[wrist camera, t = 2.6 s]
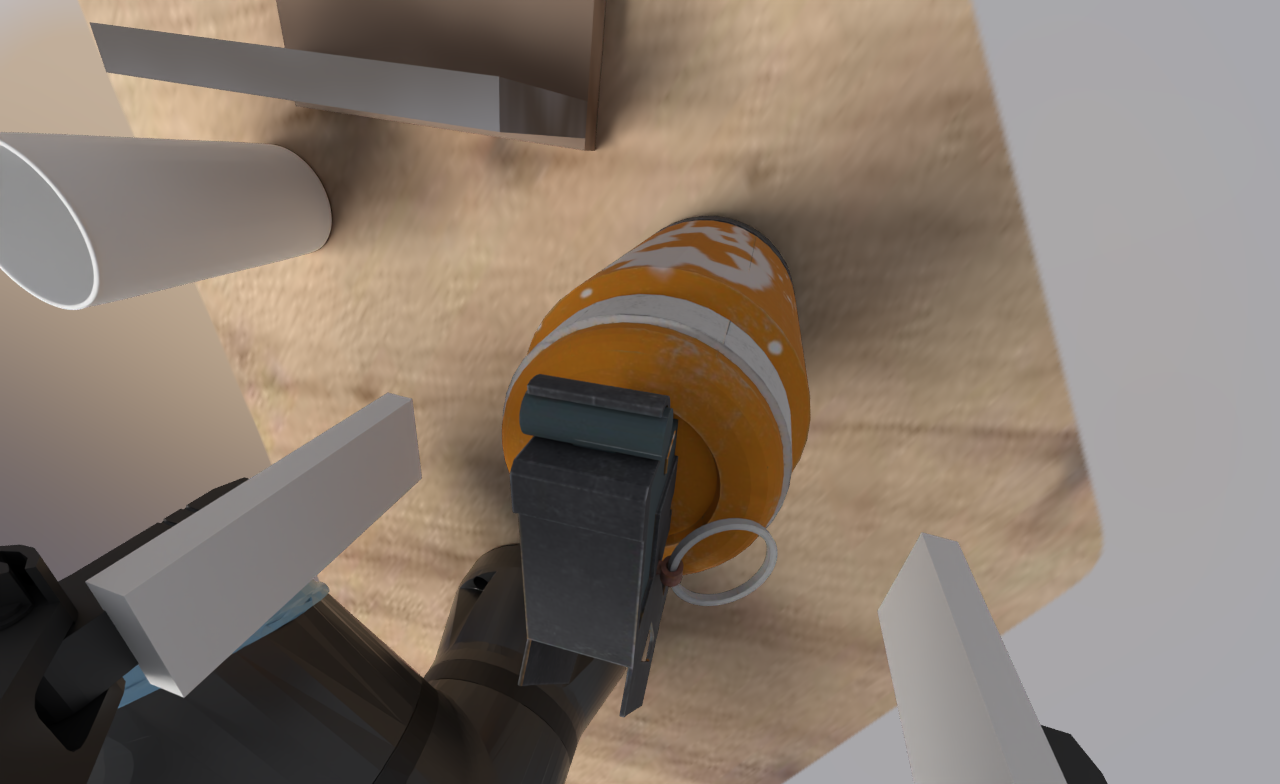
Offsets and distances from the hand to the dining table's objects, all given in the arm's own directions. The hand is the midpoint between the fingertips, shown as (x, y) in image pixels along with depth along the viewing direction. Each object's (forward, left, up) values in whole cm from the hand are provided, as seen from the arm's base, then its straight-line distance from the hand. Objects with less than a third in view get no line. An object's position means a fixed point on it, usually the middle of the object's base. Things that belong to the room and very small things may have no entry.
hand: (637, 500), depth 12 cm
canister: (0, 0, -16) cm, 16 cm away
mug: (+2, +28, -16) cm, 33 cm away
